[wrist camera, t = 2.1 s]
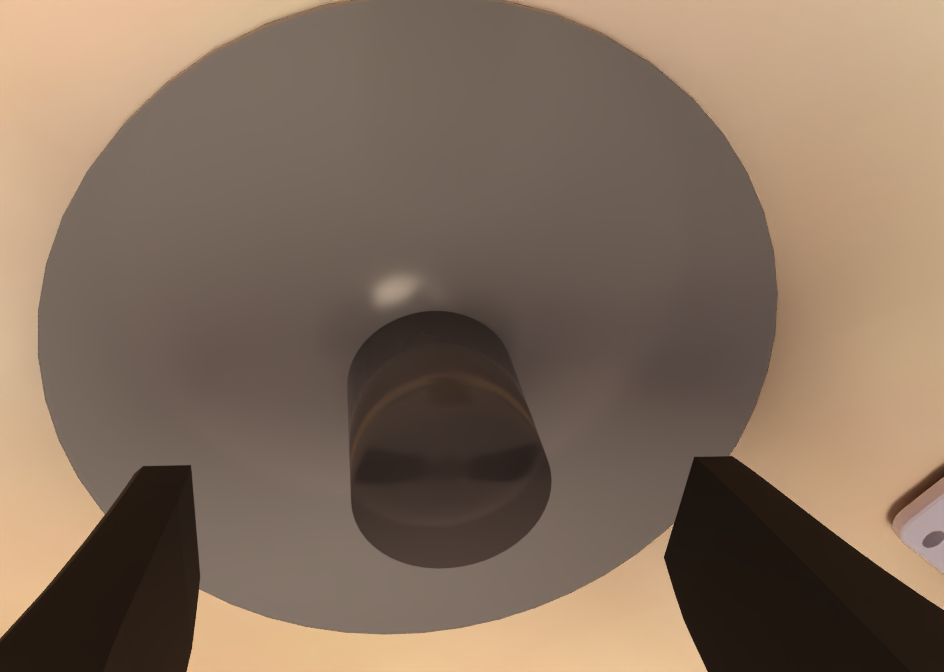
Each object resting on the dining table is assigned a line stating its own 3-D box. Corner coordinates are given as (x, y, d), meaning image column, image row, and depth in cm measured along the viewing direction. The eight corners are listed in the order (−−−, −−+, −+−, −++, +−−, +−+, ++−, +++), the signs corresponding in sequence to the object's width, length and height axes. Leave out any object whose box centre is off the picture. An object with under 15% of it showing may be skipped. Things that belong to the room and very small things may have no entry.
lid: (885, 293, 16) (1024, 401, 13) (466, 675, 20) (492, 832, 17) (351, -230, 11) (363, -270, 7) (-85, 436, 15) (-203, 601, 11)
